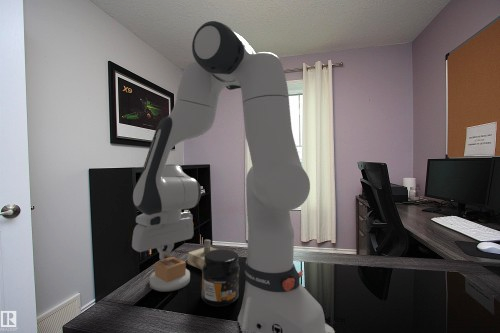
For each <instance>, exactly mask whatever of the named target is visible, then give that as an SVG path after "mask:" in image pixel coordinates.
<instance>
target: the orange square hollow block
mask: <svg viewBox="0 0 500 333" xmlns="http://www.w3.org/2000/svg"><path fill="white" fill-rule="evenodd" d="M170 262H173V263H175V264H174V265H172V266H167V263H170ZM186 266H187V261H184V260H181V259H180V258H178V257H175V256H172V257H171V256H170V257H169V258H165V259H162V260H159V261H156V262H155V263H154V272H155V276H157V277H158V278H160V279H162V280H163V281H165V282H169V281H172V280H174V279H177V278H179V277H181V276H184V275H185V274H186V269H187V267H186Z"/></svg>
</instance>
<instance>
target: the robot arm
mask: <svg viewBox="0 0 500 333" xmlns="http://www.w3.org/2000/svg"><path fill="white" fill-rule="evenodd" d="M194 33H195V34H194V35H193V39H192V43H191V52H192V56H193V59H194V61H193V60H192V61H190V62H188V63H187V64H186V65H185V67H184V69H183V72H182V74H181V77H180V81H179V85H178V89H177V92H176V98H175V104H174V105H173V108H172V110H171V112H170V113H169V114H168V116H166V117H164V118H162V119H161V120H160V121H159V123H158V125H157V127H156V129H155V132H154V134H153V137H152V140H151V142H150V145H149V150H148V153H147V156H146V158H145V161H144V164H143V167H142V170H141V172H140V175H139V177H138V180H137V181H136V182H135V186H134V188H133V192H132V202H133V205H134V207H135V208H136V209H137V210H138V211H139V212H141V214H138V215H137V216H136V217H135V222H136V225H135V226H134V229H133V232H132V240H131V248H132V249H133V250H135V251H136V252H138V253H142V252H146V251H149V250H154V249H156V251H157V252H158V253H159V256H158V257H159V260H160V261H162V260H165V259H168V258H171V253H172V251H173V249H174V247H175V244H176V243H178V242H182V241H186V240H190V239H192V238H193V237H194V233H195V232H194V222H193V219H194V217H193V216H194V215H193V214H192V213H191V212H190V211H186V212H182V210H187V209H192V208H195V207H196V206H197V205H198V204H199V202H200V199H201V197H202V187H201V185H200V183H199V182H198V181H197V180H196V178H194V177H191V176H189V175H188V174H186V173H185V172H184V171H183V168H182V166H180V165H178V164H167V161H168V159H169V155H170V153H171V150H172V149H173V148H174V147H175V146H176V145H177V144H180V143H181V142H183V141H186V140H191V139H195V138H198V137H200V136H203V135H204V134H206V133H208V131H209V130H211V129H212V127H213V125H214V122H215V118H216V115H217V114H216V113H217V108H218V102H219V96H220V94H221V92H222V90H223V89H224V88H226V89H227V90H229V91H232V90H236V89H237V90H238V89H240V90H241V99H242V100H241V102H242V111H243V121H244V134H245V140H246V141H247V146H248V150H249V156H250V160H251V167H249V170H248V172H247V173H246V174H247V175H246V178H245V180H246V183H245V187H246V190H245V191H246V192H245V193H246V194H245V195H246V196H245V197H246V214H247V215H246V216H247V251H246V253H247V254H246V260H245V264H244V279H245V285H244V293H243V298H242V304H241V308H240V311H239V314H238V316H237V323H238V322H239V323H240V324H241V326H242V329H250V330H254V331H259V332H263V333H335V332H336V331H335V330H334V328H333V327H332V326H330V325H329V324H328V323H326V320H325V319H326V318H325V314H324V310H323V307H322V305H321V304H320V303H319V302H318V301H317V300H316V298H314V297H313V295H312V294H311V293H310V292H309V291H308V290H307V289H306V288H305V287H304V286H303V285H302V284H301V282H300V280H301V279H300V278H301V277H302V276H303V275H304V274H303V272H304V270H300V271H299V272H298V270H297V268H296V266H295V264H294V252H295V251H294V248H295V245H294V244H295V230H294V227H293V224H292V219H291V214H290V211H292V210H295V209H298V208H299V207H301V206H302V205H303V204H304V203H305V202H306V200H307V199H308V197H309V195H310V190H311V181H310V178H309V175H308V174H307V172H306V170H305V169H304V168H303V165H302V162H301V159H300V156H299V152H298V148H297V145H296V141H295V138H294V134H293V129H292V119H291V118H292V116H291V109H290V108H291V106H290V97H289V96H290V94H289V90H288V82H287V78H286V73H285V70H284V67H283V62H282V61H281V59H280V58H279V56H277V55H276V54H274V53H272V52H266V51H262V52H257V51H255V50H254V49H253V48H252V46H251V45H249V43H248V42H247V41H246V39H245V38H243V37H242V36H241V35H239V34H238V33H236V32H235V31H234V30H233V29H232V28H231V27H230V26H228V25H227V24H225V23H222V22H220V21H216V20H213V21H212V20H211V21H206V22H204V23H203V24H202V25H201V26H200V27H198V29H197V30H196V32H194ZM165 246H167V248H165ZM164 249H166V250H164Z"/></svg>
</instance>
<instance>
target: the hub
mask: <svg viewBox="0 0 500 333" xmlns="http://www.w3.org/2000/svg"><path fill="white" fill-rule="evenodd" d="M174 264H175V263H173V262H170V263H167V266H172V265H174ZM190 281H191V272H190V270H189V269H187V268H186V274H185V275H184V276H181V277H179V278H177V279H174V280H172V281H169V282H165V281H163V280H162V279H160V278H158V277H157V276H155V271H154V272H152V273H151V274H150V275H149V287H150V288H151V289H152V290H154V291H157V292H173V291H177V290H180V289H182V288H184V287H186V286H187V285H188V284H189V283H190Z"/></svg>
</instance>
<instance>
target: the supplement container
mask: <svg viewBox="0 0 500 333" xmlns="http://www.w3.org/2000/svg"><path fill="white" fill-rule="evenodd" d="M216 249H217V248H216ZM204 263H205V264H204V265H203V267H202V270H201V272H202V277H201V278H202V279H201V299H202V300H203V302H204V303H206V305H209V306H212V307H220V308H221V307H227V306H230V305H231V304H233V303H235V302H236V301H237V299H238V298H239V294H240V292H239V288H240V284H239V282H240V270H241V268H240V265H239V253H237V251H234V250H232V249H226V248H225V249H224V248H223V249H221V248H219V249H217V250H212V251H209V252H207V253H206V254H205V256H204Z"/></svg>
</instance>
